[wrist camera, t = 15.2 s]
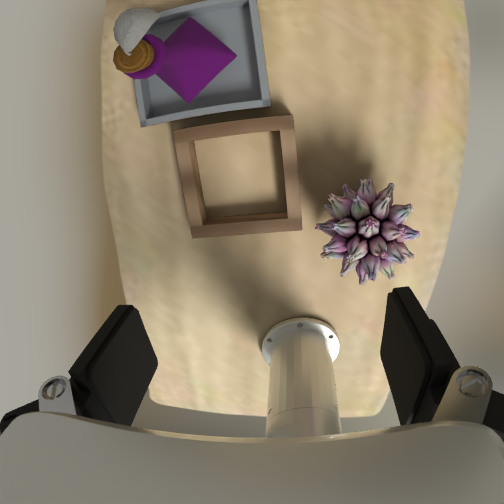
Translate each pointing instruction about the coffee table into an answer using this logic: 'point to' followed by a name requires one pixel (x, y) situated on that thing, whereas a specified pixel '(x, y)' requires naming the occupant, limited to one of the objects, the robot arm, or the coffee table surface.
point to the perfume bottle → (169, 52)
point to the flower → (367, 231)
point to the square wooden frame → (241, 223)
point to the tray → (228, 80)
